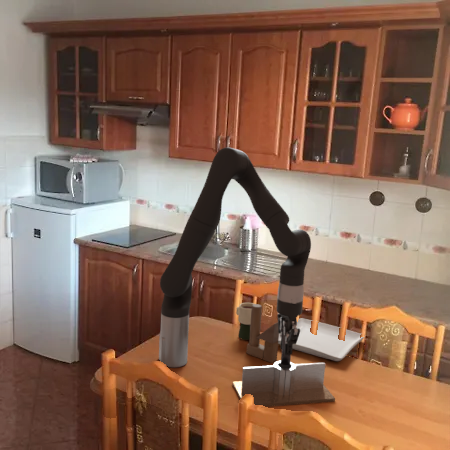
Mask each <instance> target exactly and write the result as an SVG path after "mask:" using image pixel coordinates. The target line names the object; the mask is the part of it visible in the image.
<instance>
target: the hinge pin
mask: <svg viewBox="0 0 450 450" xmlns="http://www.w3.org/2000/svg"><path fill="white" fill-rule="evenodd" d="M287 333H290V332H287ZM288 337H289V336H288ZM284 348H285V335H284V331H283V341H282V350H281V356H280V361H281V364H283V365H290V362H291V360H292V359H291V358H292V354H291V355H285V354H284Z"/></svg>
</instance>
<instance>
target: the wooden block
mask: <svg viewBox="0 0 450 450" xmlns="http://www.w3.org/2000/svg"><path fill="white" fill-rule="evenodd" d="M262 309H263V305H261V304H257V303H253V305H252V309H251V324H250V339H249V342H248V343H247V344H246V354H248V355H249V356H253V357H255V358H258V359H261V360H263V361H265V362H269V363H271V364H272V363H275V362H277V361H278V360H277V359H278V352H279V351H278V346H279V344H278V339H279V332H278V321H277V322H275V323H273V324H272V325H271V326H269V327H267V329H265V330H264V331H263V332H261V328H262V327H261V325H262V313H263V312H262V311H263V310H262ZM260 341H264V344H261V343H260Z"/></svg>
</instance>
